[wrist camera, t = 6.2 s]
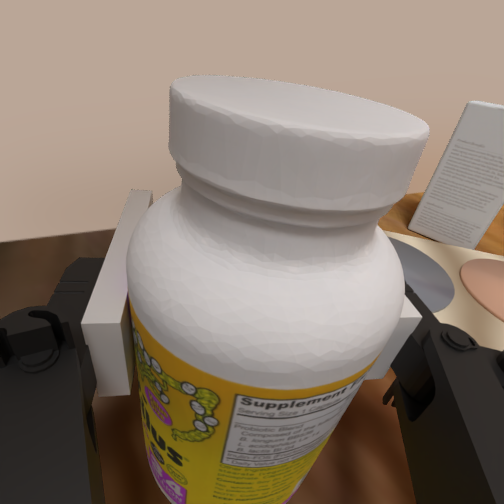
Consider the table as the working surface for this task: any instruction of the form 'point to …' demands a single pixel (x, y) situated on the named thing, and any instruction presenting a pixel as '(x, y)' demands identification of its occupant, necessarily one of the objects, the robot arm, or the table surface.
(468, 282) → the terracotta pad
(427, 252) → the birch board
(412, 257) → the slate pad
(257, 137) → the supplement bottle
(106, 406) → the table surface
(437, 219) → the skincare box
